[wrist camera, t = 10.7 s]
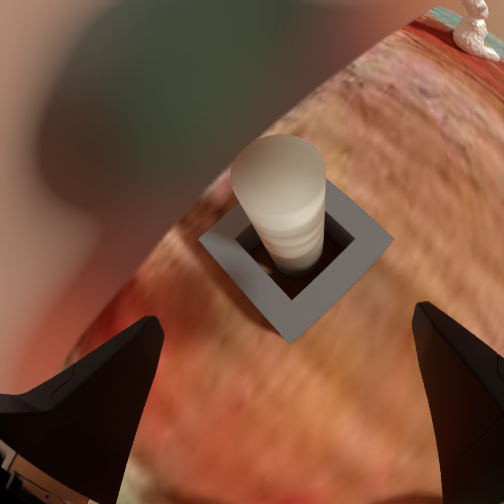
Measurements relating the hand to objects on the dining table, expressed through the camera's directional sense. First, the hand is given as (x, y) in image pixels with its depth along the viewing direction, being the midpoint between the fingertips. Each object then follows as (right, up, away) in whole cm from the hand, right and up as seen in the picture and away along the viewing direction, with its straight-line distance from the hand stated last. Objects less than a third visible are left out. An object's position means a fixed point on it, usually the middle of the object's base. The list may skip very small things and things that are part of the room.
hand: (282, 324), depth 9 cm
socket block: (+3, +2, +14) cm, 15 cm away
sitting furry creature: (+36, +37, +17) cm, 55 cm away
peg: (+3, +2, +14) cm, 15 cm away
